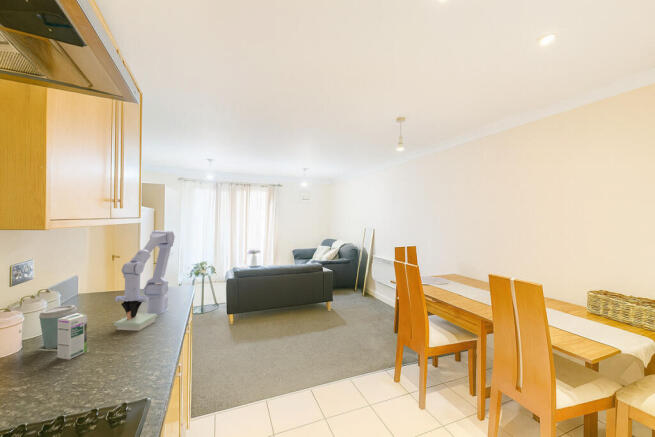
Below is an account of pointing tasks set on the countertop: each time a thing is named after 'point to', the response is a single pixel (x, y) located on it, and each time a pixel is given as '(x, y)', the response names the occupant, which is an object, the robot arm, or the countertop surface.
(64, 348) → the syrup box
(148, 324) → the tub
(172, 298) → the countertop surface
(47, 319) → the disposable coffee cup
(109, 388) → the countertop surface
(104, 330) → the countertop surface
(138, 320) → the lid
